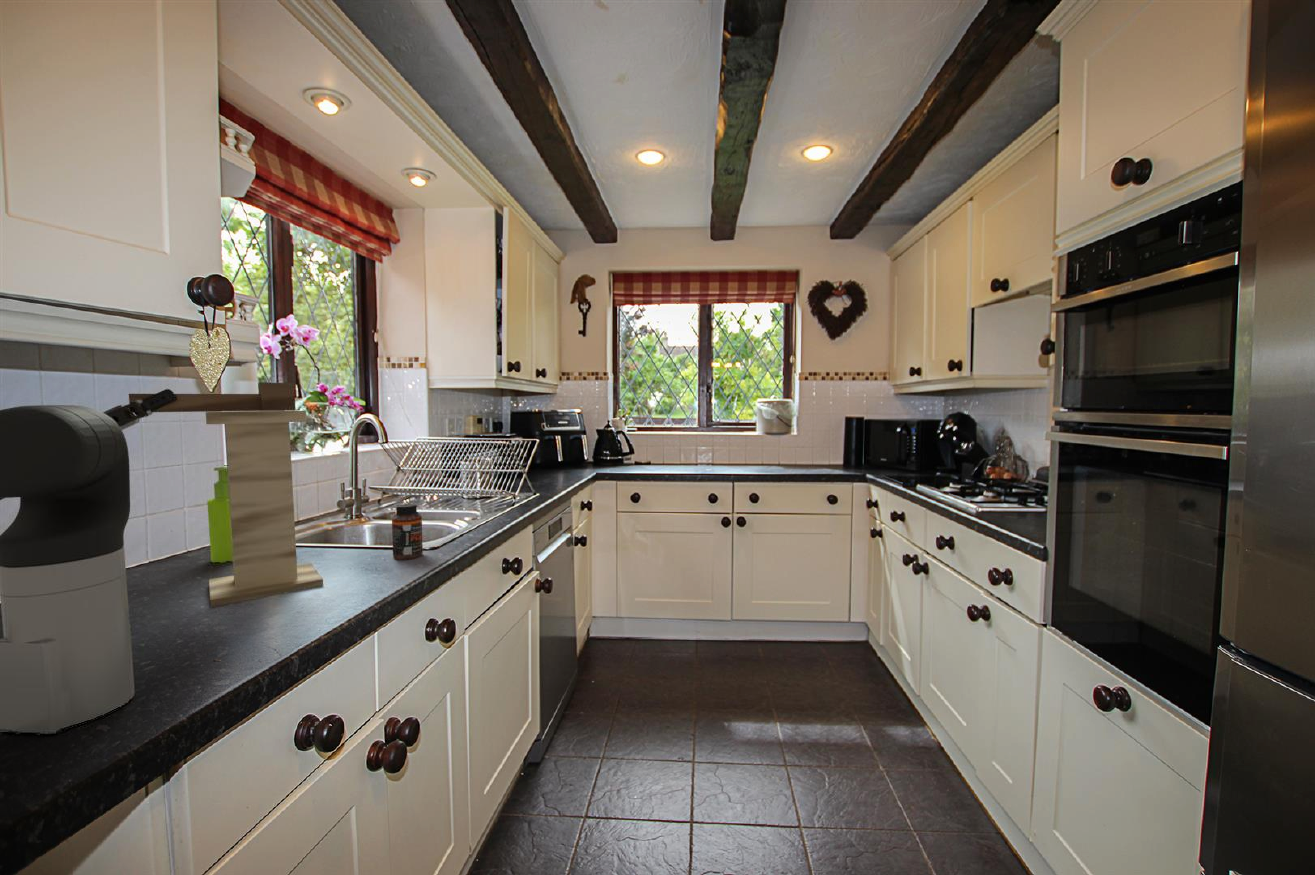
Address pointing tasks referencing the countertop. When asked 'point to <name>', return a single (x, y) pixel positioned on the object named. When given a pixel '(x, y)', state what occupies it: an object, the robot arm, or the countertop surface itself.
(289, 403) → the walnut bar
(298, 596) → the countertop surface
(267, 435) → the oak stand
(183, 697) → the countertop surface
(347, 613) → the countertop surface
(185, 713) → the countertop surface
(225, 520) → the soap dispenser
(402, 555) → the supplement bottle
